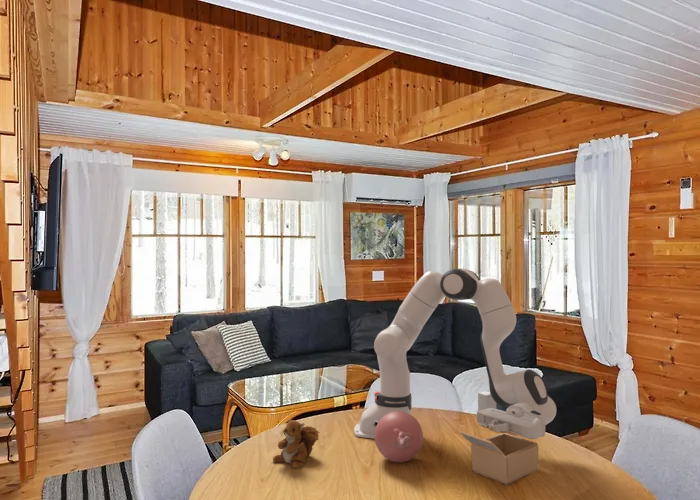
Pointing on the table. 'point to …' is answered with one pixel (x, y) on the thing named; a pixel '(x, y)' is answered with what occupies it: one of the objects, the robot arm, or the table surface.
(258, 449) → the table surface
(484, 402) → the skincare box
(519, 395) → the robot arm
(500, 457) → the carton
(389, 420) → the balloon
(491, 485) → the table surface
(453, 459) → the table surface
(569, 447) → the table surface
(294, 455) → the stuffed squirrel
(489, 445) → the front flap
